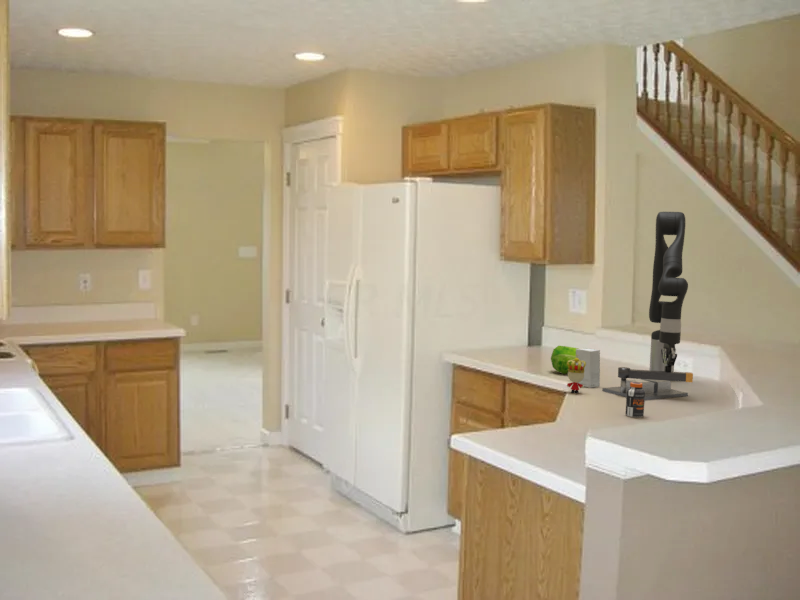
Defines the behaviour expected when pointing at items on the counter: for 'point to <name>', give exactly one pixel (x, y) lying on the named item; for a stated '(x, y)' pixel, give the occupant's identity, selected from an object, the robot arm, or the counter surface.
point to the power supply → (646, 386)
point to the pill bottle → (635, 400)
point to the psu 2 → (660, 385)
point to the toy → (575, 374)
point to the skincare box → (590, 366)
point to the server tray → (648, 396)
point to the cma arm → (654, 375)
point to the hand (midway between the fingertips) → (667, 375)
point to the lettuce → (562, 358)
